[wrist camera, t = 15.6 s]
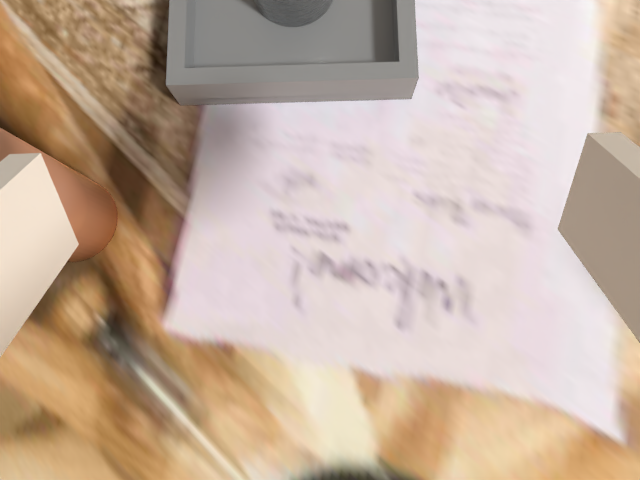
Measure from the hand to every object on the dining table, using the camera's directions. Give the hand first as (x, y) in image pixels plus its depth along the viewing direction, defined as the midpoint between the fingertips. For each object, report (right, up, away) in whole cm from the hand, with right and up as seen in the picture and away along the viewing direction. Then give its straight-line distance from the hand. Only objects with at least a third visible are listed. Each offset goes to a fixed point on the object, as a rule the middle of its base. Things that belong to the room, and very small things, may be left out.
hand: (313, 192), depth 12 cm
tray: (-1, +14, +18) cm, 23 cm away
